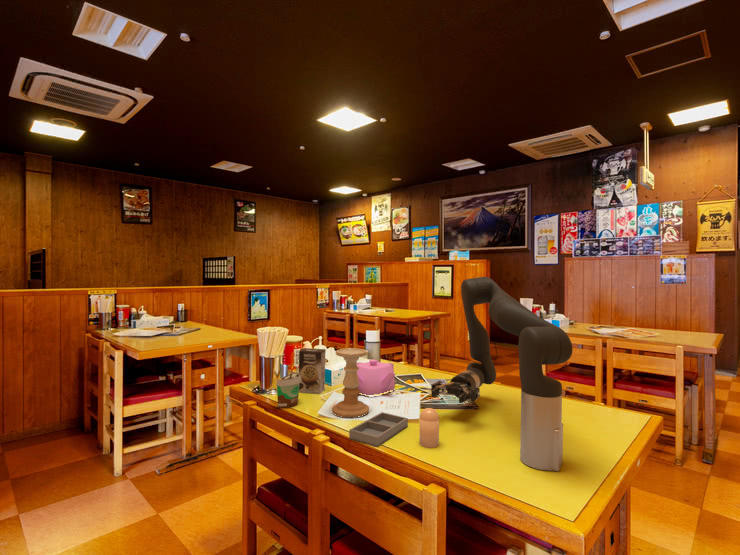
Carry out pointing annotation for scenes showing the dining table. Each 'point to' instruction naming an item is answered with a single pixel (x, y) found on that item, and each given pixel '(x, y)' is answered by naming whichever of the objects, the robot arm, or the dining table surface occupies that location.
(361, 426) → the divided tray
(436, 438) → the peach domed shaker
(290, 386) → the food container
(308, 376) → the coffee box
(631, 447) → the dining table surface
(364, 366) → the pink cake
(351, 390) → the candle holder
